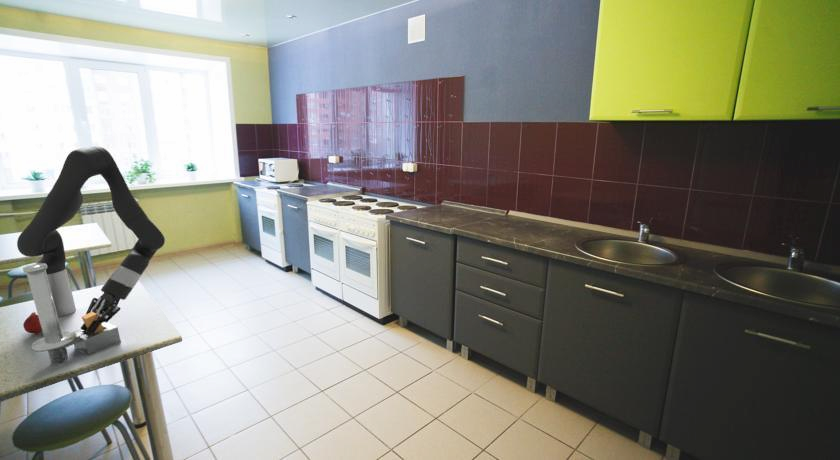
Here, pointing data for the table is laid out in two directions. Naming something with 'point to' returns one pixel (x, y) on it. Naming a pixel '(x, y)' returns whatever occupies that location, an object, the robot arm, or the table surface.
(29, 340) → the table surface
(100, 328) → the orange block
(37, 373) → the table surface
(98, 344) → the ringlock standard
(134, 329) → the table surface
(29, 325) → the pomegranate
